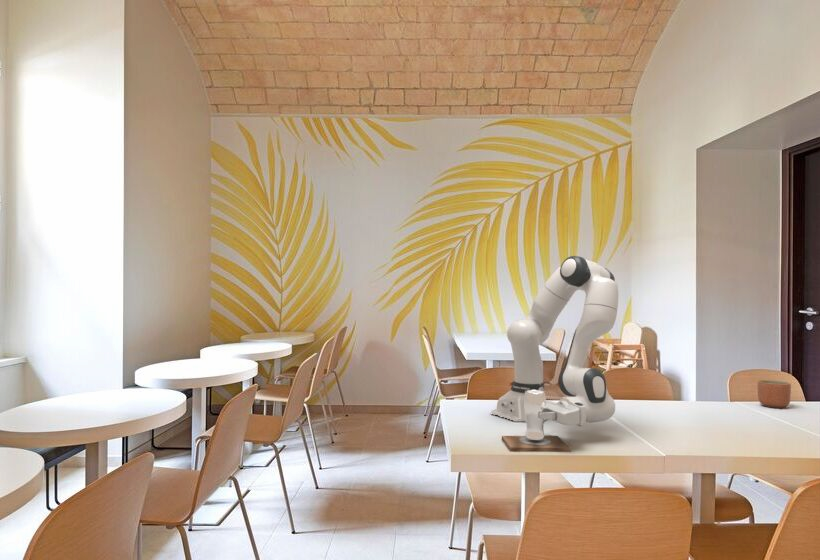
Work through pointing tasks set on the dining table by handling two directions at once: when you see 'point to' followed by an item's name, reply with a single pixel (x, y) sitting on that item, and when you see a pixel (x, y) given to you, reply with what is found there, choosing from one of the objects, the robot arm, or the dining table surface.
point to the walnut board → (536, 444)
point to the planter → (774, 393)
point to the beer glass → (534, 413)
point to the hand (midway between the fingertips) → (532, 413)
